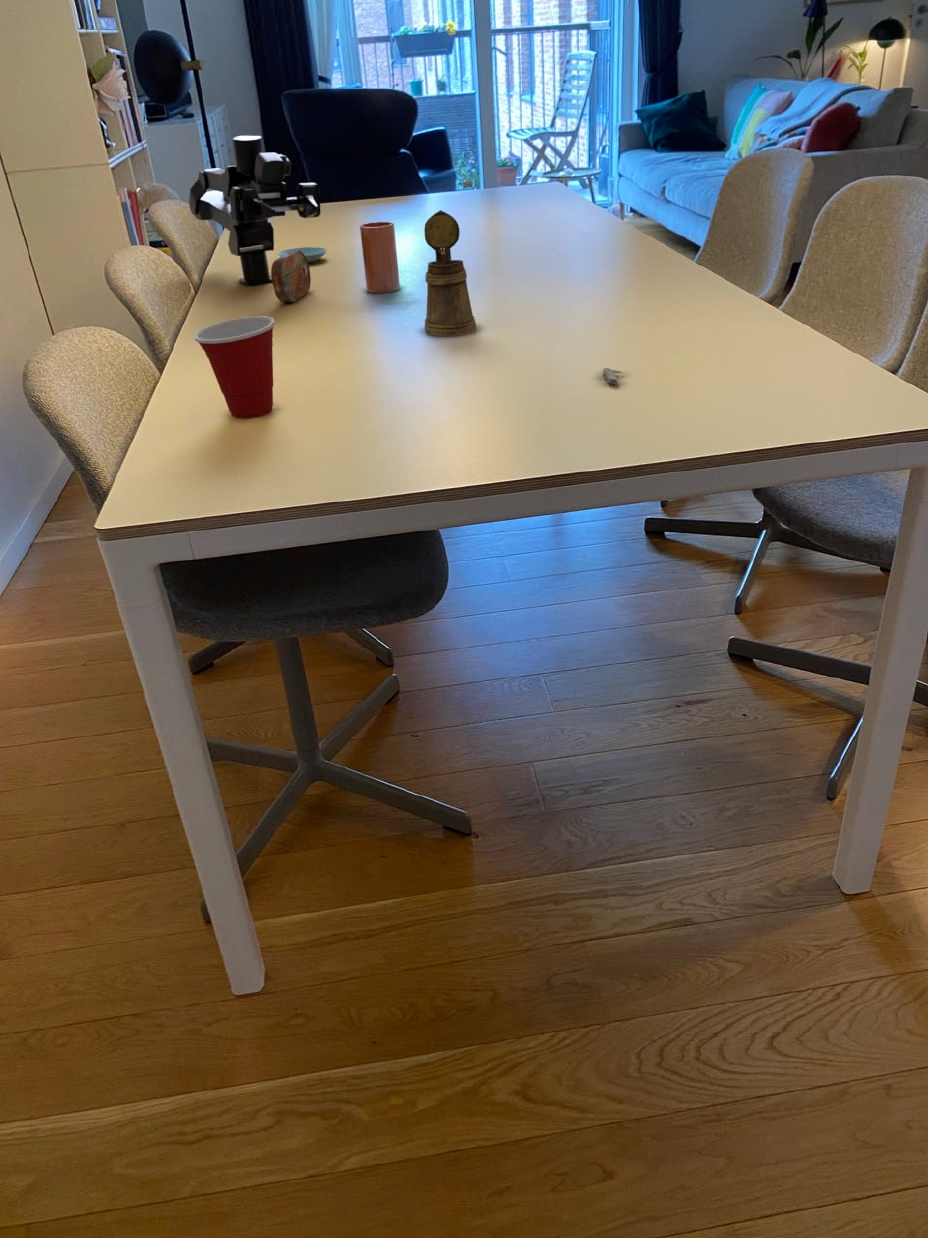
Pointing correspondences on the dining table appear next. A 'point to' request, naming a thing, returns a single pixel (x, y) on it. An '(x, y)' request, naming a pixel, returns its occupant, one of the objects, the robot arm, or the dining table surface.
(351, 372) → the dining table surface
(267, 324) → the plastic cup
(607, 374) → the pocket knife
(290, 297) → the tin
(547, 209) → the dining table surface
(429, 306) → the wooden mug
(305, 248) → the saucer
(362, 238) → the pot
